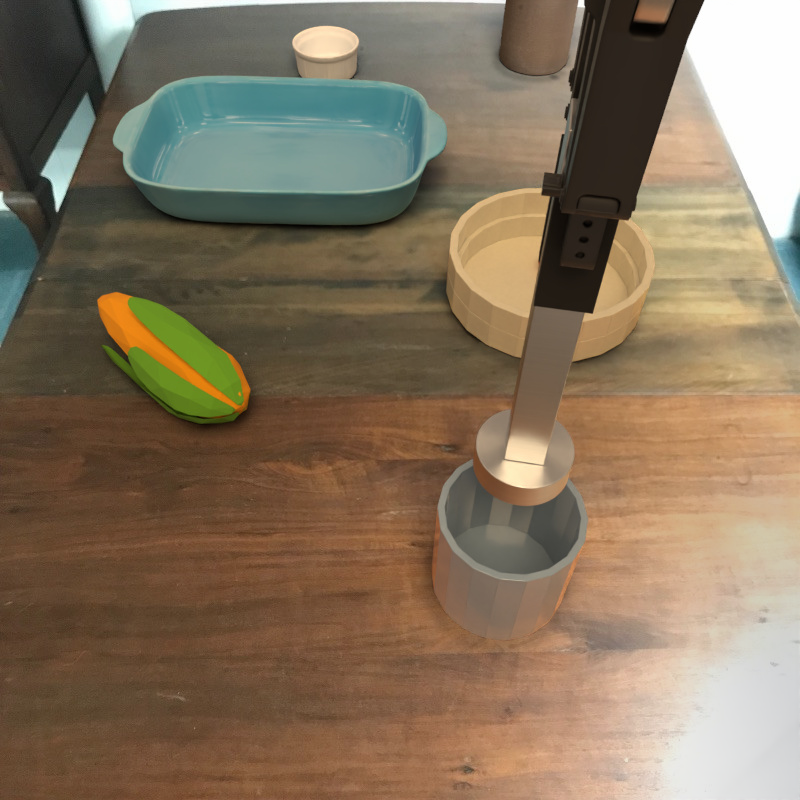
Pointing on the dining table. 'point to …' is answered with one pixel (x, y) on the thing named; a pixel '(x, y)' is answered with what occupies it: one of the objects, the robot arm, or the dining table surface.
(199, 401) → the corn
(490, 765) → the dining table surface
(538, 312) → the silver disc tamper
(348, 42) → the ramekin
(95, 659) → the dining table surface
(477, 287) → the bowl
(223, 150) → the casserole dish
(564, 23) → the pillar candle
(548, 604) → the crock
